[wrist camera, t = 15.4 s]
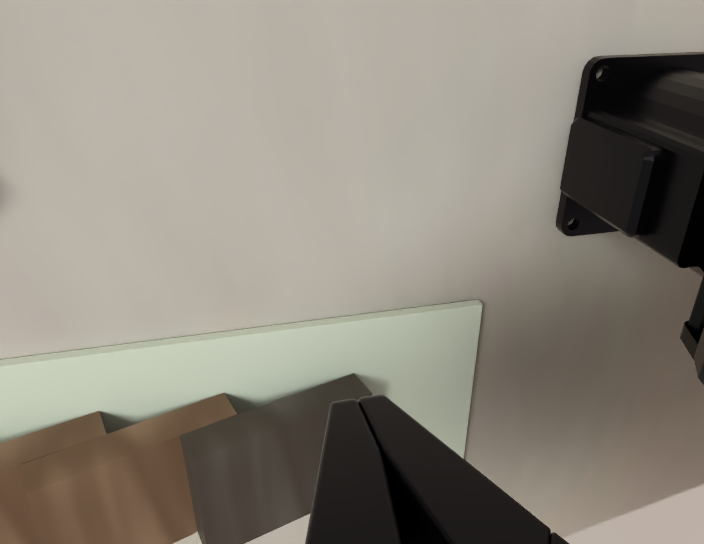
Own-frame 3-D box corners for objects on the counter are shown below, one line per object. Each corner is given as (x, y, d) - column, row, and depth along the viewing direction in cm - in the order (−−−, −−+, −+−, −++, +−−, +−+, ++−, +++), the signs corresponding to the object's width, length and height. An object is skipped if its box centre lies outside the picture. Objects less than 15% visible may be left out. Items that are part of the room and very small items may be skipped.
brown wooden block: (237, 414, 22) (25, 494, 18) (248, 508, 24) (62, 593, 21) (223, 392, 23) (20, 464, 20) (235, 485, 25) (56, 562, 22)
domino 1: (106, 434, 21) (-140, 519, 18) (131, 530, 23) (-82, 619, 20) (99, 410, 22) (-135, 487, 19) (124, 504, 24) (-80, 586, 21)
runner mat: (478, 299, 24) (482, 304, 24) (457, 476, 29) (460, 483, 28) (-366, 405, 18) (-377, 414, 18) (-218, 603, 23) (-224, 613, 23)
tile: (372, 393, 23) (190, 461, 20) (370, 485, 25) (208, 559, 22) (354, 373, 24) (179, 435, 21) (353, 463, 26) (197, 531, 23)
